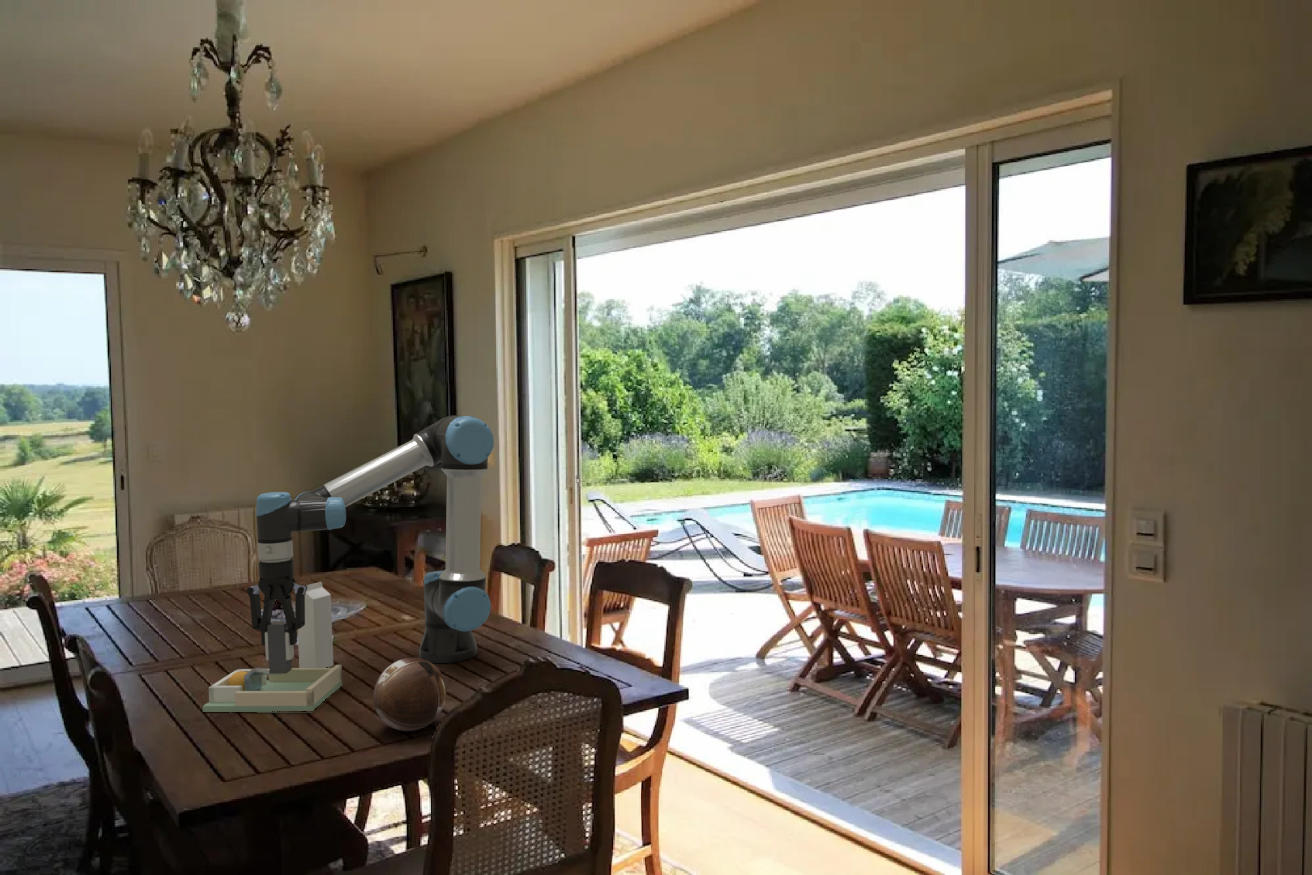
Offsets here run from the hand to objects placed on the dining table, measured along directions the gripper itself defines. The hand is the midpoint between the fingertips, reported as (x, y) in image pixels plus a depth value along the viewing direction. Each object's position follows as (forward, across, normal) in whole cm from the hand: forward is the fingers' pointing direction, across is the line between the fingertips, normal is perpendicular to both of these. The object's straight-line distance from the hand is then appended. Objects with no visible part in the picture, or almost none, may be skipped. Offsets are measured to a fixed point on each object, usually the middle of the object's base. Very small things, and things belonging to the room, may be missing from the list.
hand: (280, 658), depth 217 cm
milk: (+10, -2, +24) cm, 26 cm away
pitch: (+10, -2, 0) cm, 10 cm away
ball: (+6, -10, 0) cm, 11 cm away
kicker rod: (+8, -3, 0) cm, 8 cm away
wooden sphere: (+10, +36, -19) cm, 42 cm away
